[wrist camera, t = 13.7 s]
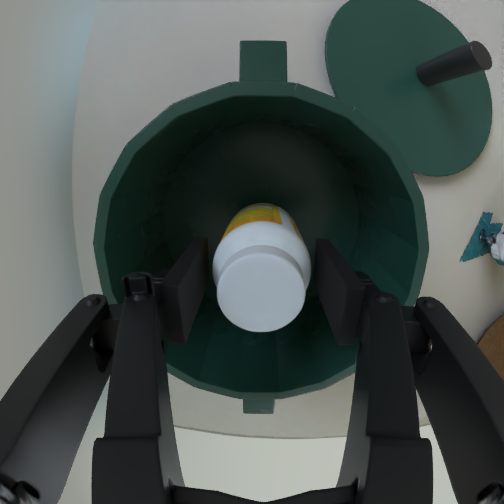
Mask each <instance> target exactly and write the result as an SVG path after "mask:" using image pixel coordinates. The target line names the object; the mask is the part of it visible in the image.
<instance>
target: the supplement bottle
mask: <svg viewBox="0 0 504 504" xmlns="http://www.w3.org/2000/svg"><path fill="white" fill-rule="evenodd" d="M212 269H213V278H214V282H215V285H216V287H217V300H218V304H219V306H220V308H221V310H222V312H223V314H224V315H225V316H226V317H227V318H228V319H229V320H230V321H231V322H232V323H233V324H235V325H236V326H238V327H240V328H243V329H245V330H248V331H253V332H269V331H274V330H277V329H280V328H282V327H284V326H286V325H287V324H288V323H290V322H291V321H292V320H293V319H294V318H295V317H296V316H297V315H298V314H299V312H300V311H301V309H302V307H303V304H304V301H305V294H306V289H307V287H308V284H309V282H310V277H311V259H310V255H309V252H308V250H307V247H306V245H305V243H304V241H303V238H302V236H301V234H300V232H299V229H298V227H297V225H296V223H295V222H294V220H293V218H292V217H291V216H290V215H289V214H288V213H287V212H286V211H285V210H284V209H282V208H280V207H278V206H276V205H273V204H268V203H259V204H253V205H250V206H247V207H245V208H243V209H242V210H240V211H239V212H238V213H237V214H236V215H235V216H234V217H233V219H232V220H231V222H230V224H229V226H228V227H227V229H226V231H225V233H224V236H223V237H222V240H221V242H220V244H219V245H218V247H217V250H216V252H215V255H214V259H213V267H212Z"/></svg>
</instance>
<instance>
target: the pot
mask: <svg viewBox="0 0 504 504" xmlns="http://www.w3.org/2000/svg"><path fill="white" fill-rule="evenodd" d="M477 346H478V347H479V348H480V350H481V351H482V352H483V353H484V355H485V356H486V357H487V359H488V360H489V362H490V363H491V364H492V366H493V367H494V368H495V370H496V371H497V373H498V374H499V375H500V377H501V378H502V380H503V381H504V315H503V316H501V317H500V318H498V319H497V320H496V321H495V323H494V324H493V325H492V326H491V327H489V328H488V330H487V331H486V332H485V334H484V335H483V337H482V338H481V340H480V342H479V343H478V345H477Z"/></svg>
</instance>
